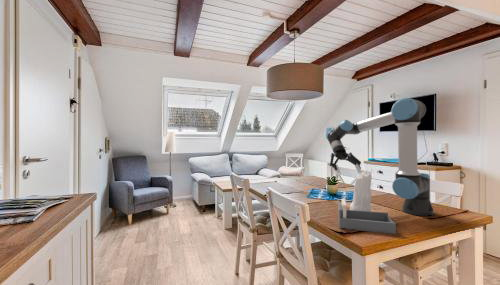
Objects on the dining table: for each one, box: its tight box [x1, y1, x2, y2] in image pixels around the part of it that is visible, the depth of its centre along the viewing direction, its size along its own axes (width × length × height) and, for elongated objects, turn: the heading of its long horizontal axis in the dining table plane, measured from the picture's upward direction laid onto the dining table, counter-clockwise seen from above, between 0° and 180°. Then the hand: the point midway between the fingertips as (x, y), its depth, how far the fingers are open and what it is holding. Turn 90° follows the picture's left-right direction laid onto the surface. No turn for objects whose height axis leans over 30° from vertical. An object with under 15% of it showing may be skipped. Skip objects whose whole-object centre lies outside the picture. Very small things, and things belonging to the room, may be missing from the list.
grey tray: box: [337, 201, 397, 235], centre depth 117 cm, size 24×16×9 cm, turn 71°
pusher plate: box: [341, 198, 347, 218], centre depth 120 cm, size 2×13×10 cm, turn 161°
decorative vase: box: [349, 169, 372, 212], centre depth 132 cm, size 11×11×25 cm
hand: (350, 173), depth 143 cm, fingers open, 13 cm apart
